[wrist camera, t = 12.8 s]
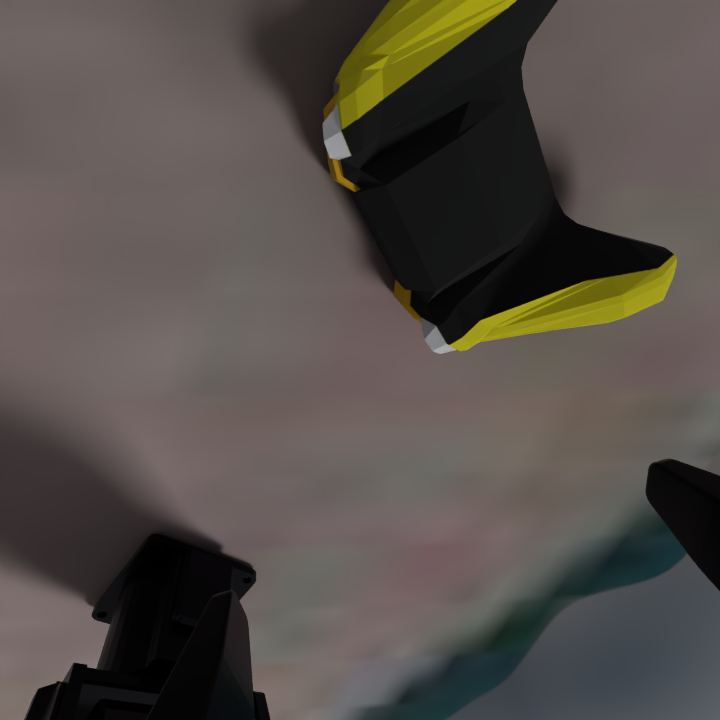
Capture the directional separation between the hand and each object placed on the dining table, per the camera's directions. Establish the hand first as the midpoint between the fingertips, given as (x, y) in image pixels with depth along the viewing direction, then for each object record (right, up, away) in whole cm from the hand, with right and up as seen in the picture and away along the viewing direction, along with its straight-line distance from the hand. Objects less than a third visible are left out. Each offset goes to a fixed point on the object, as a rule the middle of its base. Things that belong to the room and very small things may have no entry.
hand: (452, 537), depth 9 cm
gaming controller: (+2, +11, +10) cm, 16 cm away
